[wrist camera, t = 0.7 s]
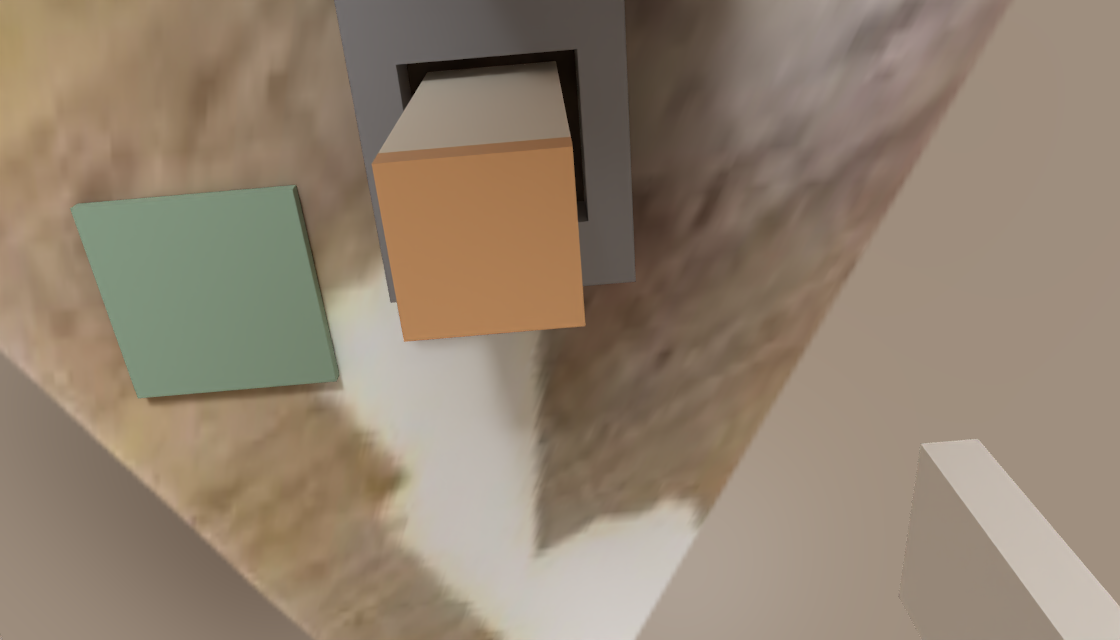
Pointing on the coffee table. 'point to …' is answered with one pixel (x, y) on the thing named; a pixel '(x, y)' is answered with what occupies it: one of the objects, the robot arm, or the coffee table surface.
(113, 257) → the mat
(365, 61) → the grey square frame
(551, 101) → the plug
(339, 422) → the coffee table surface
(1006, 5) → the coffee table surface
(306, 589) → the coffee table surface
